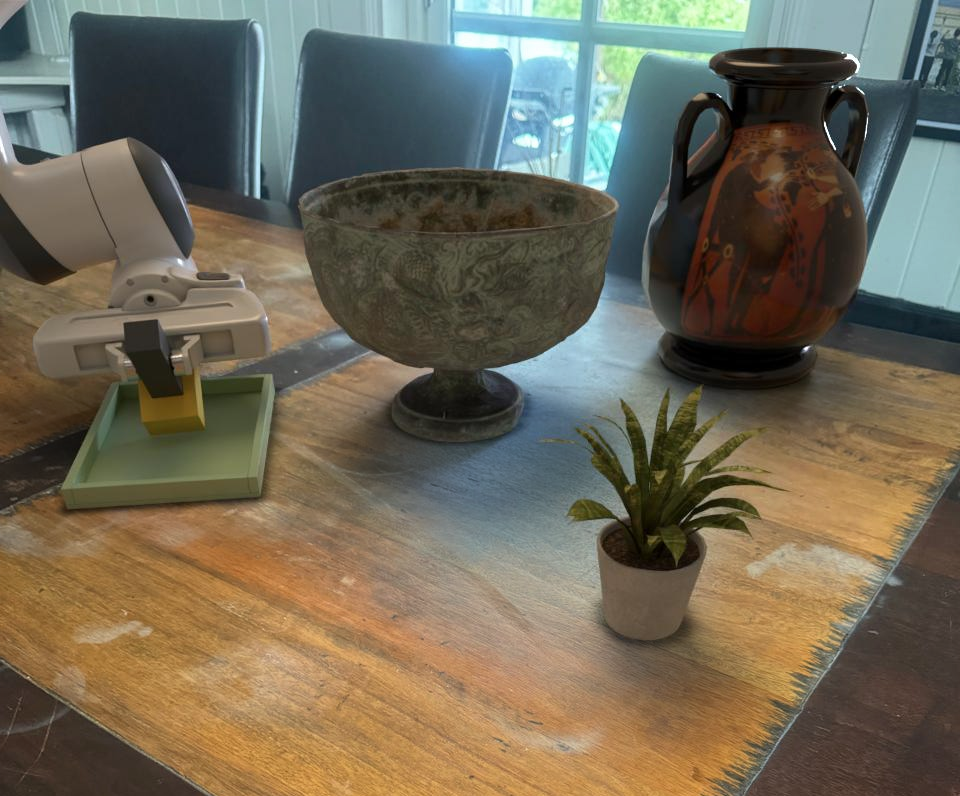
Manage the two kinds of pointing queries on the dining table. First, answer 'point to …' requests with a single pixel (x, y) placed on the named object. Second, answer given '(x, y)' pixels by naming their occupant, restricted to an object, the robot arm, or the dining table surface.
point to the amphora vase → (759, 221)
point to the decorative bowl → (458, 281)
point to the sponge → (162, 382)
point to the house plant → (660, 518)
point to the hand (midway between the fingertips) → (155, 370)
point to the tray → (175, 449)
